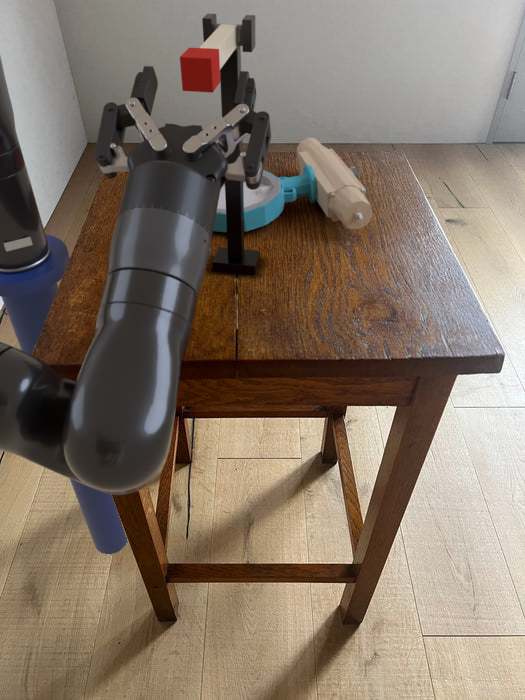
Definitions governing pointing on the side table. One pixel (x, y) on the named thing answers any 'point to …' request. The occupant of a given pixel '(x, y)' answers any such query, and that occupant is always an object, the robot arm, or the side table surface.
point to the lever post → (233, 160)
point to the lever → (209, 58)
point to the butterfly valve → (305, 191)
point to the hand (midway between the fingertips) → (198, 75)
